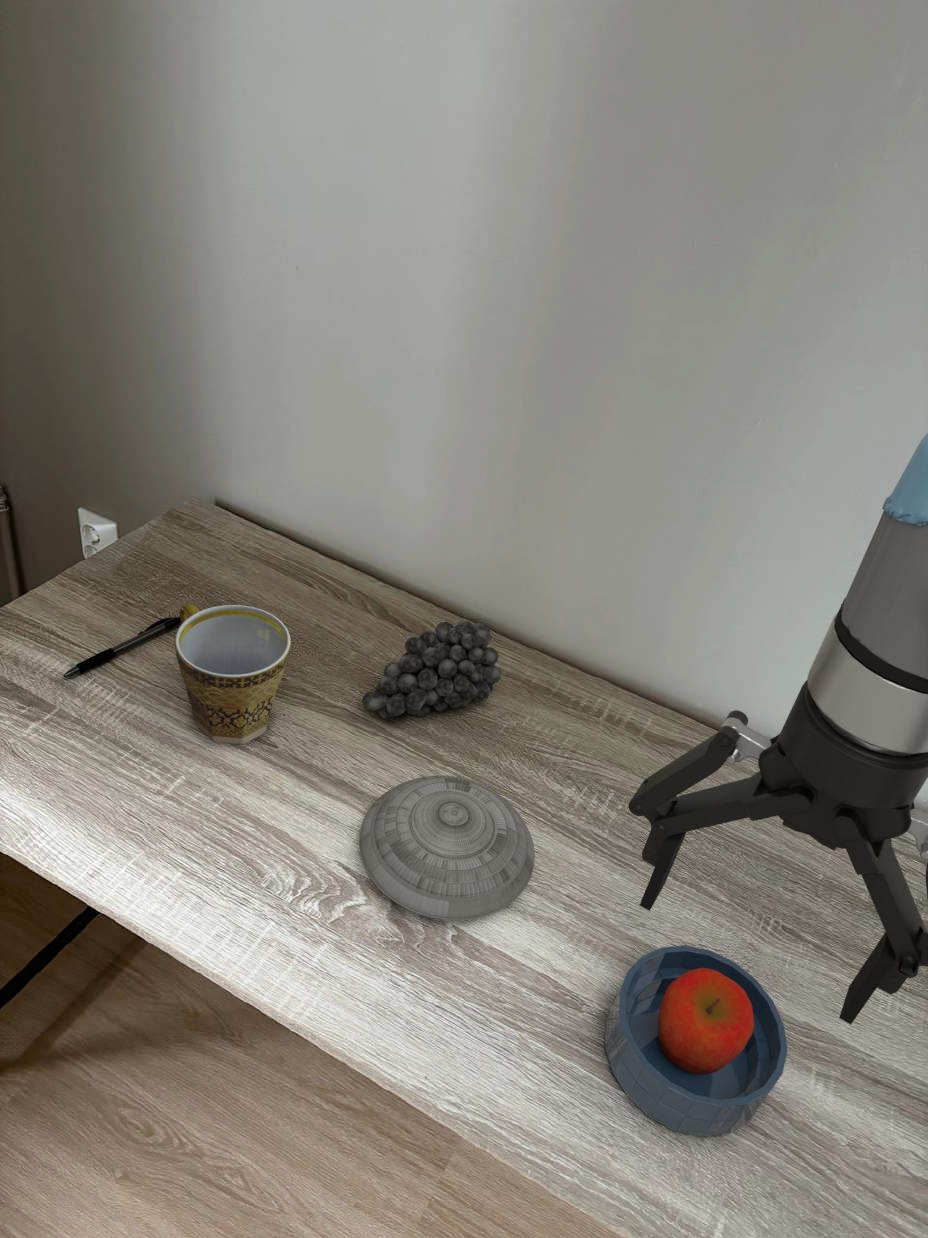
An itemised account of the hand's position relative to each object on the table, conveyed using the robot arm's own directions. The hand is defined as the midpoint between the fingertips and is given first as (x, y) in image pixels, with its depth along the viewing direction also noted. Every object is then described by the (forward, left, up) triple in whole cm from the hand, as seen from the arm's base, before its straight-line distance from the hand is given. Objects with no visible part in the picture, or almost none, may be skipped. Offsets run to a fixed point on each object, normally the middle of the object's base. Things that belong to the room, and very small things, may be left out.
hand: (747, 948), depth 64 cm
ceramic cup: (+46, +20, -14) cm, 52 cm away
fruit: (+41, +1, -14) cm, 44 cm away
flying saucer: (+23, +8, -14) cm, 29 cm away
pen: (+58, +26, -14) cm, 65 cm away
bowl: (0, 0, -14) cm, 14 cm away
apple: (0, 0, -14) cm, 14 cm away
